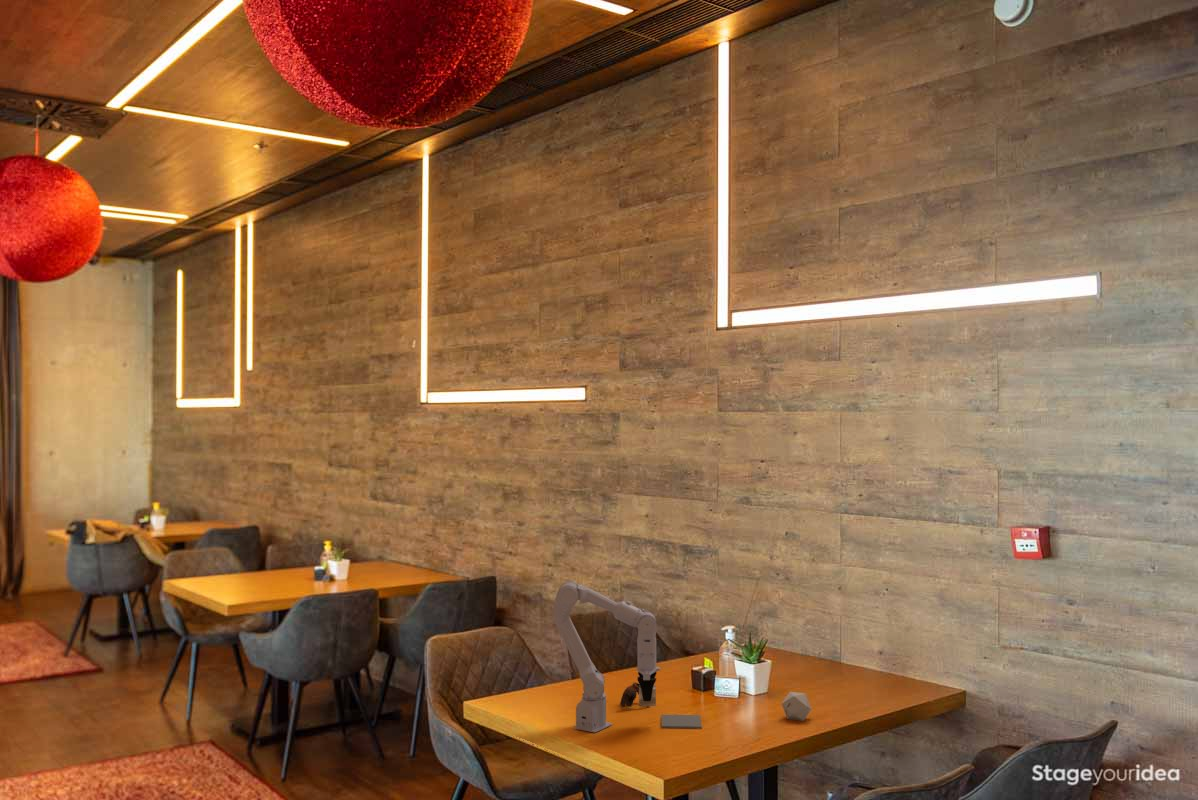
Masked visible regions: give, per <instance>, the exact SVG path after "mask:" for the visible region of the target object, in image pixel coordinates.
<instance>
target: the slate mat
mask: <svg viewBox="0 0 1198 800" xmlns="http://www.w3.org/2000/svg"><path fill="white" fill-rule="evenodd" d="M702 728H703V726H702V718H701V715H700V714H661V729H687V730H688V729H690V730H691V729H694V730H695V729H698V730H699V729H701V730H702Z"/></svg>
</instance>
